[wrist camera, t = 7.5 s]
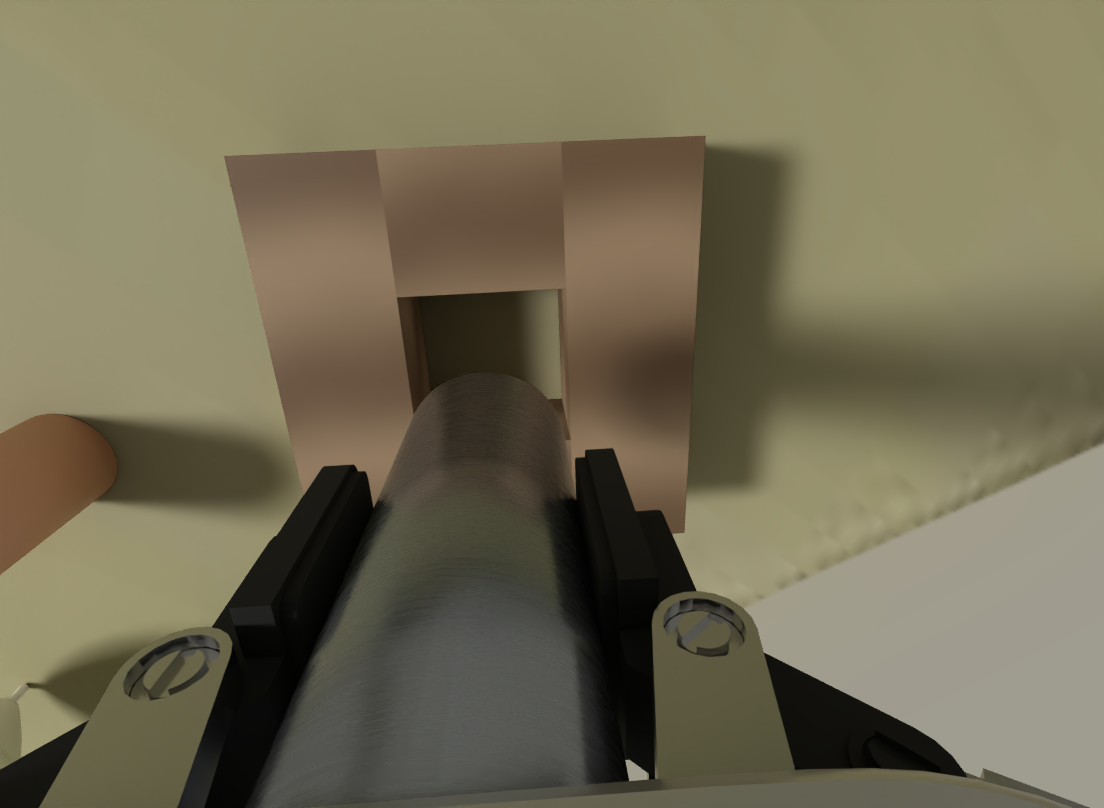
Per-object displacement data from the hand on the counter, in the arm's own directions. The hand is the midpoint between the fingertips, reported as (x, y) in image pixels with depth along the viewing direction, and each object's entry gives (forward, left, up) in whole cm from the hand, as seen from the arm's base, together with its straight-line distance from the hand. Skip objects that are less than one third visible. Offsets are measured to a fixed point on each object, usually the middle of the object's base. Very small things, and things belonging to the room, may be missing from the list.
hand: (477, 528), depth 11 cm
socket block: (0, 0, -13) cm, 13 cm away
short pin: (+4, -18, -13) cm, 23 cm away
